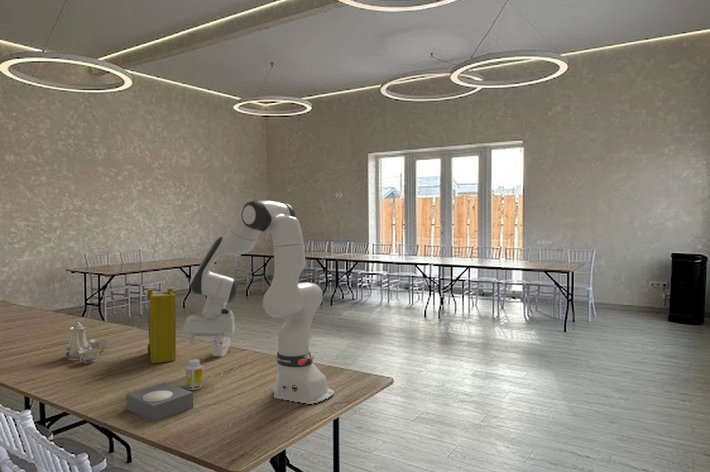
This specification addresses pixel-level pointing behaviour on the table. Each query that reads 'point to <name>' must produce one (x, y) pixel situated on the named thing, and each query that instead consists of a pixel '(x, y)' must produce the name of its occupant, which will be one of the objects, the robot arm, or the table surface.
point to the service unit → (159, 401)
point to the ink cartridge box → (222, 347)
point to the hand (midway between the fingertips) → (204, 345)
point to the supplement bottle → (194, 375)
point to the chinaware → (84, 345)
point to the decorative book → (162, 326)
